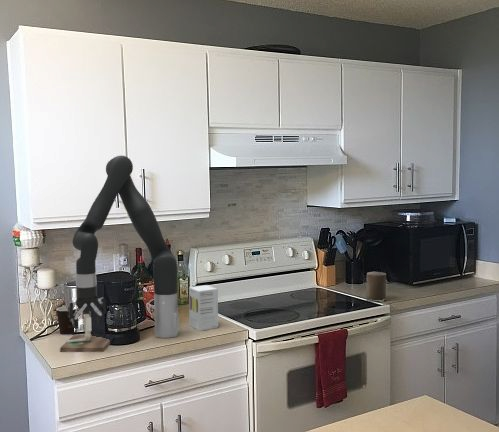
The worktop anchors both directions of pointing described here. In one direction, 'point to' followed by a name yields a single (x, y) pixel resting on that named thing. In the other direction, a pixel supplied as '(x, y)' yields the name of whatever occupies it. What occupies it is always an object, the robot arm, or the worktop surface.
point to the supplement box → (203, 307)
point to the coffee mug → (65, 321)
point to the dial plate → (85, 344)
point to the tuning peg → (87, 329)
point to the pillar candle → (376, 286)
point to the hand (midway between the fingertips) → (87, 326)
